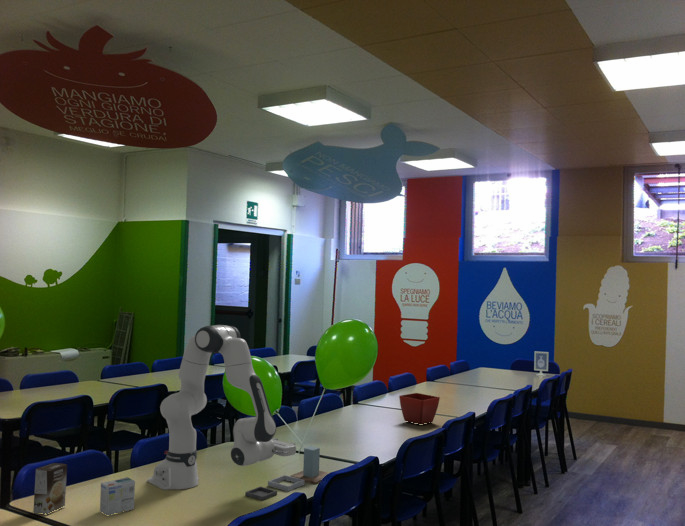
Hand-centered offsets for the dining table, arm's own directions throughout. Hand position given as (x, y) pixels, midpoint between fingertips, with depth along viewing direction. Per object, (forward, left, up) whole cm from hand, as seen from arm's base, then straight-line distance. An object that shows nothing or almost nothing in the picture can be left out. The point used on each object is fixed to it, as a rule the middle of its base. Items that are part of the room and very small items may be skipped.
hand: (285, 442), depth 262 cm
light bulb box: (-29, -61, -18) cm, 70 cm away
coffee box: (-48, -76, -18) cm, 92 cm away
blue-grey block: (+3, +16, -17) cm, 23 cm away
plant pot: (-11, +149, -18) cm, 150 cm away
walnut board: (+3, +17, -18) cm, 25 cm away
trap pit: (+1, -15, -18) cm, 24 cm away
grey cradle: (+1, +1, -18) cm, 18 cm away
